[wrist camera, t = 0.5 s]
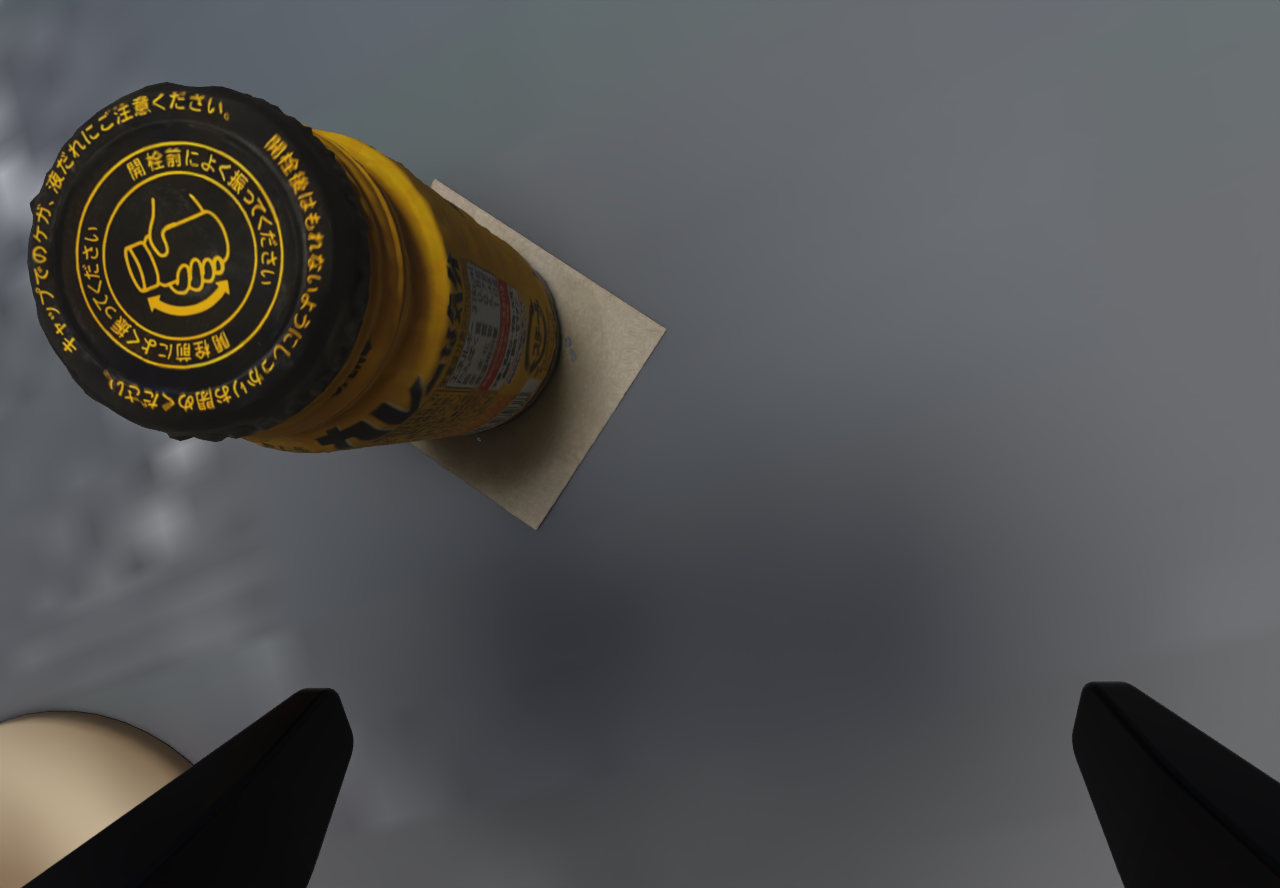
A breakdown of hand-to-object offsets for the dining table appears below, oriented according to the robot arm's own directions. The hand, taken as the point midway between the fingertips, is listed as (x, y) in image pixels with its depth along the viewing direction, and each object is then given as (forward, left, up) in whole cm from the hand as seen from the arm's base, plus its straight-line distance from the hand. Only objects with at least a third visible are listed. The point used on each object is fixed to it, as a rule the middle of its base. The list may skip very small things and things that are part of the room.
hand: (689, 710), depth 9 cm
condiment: (+4, +8, -13) cm, 16 cm away
